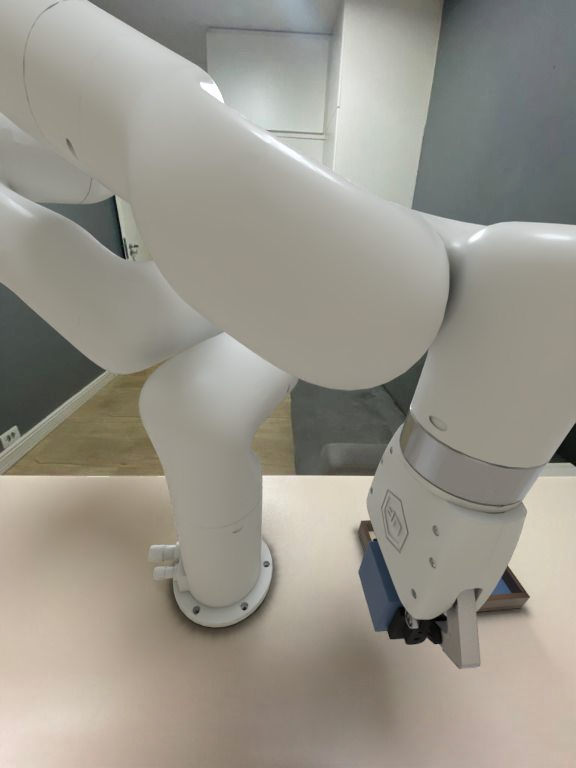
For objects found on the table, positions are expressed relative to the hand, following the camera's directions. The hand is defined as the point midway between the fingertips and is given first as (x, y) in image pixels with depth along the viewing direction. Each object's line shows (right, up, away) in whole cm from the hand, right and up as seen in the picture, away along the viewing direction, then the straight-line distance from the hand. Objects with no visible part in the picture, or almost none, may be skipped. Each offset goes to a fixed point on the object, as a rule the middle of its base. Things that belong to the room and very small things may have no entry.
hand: (392, 595), depth 28 cm
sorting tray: (+10, -6, +15) cm, 19 cm away
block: (0, 0, 0) cm, 1 cm away
